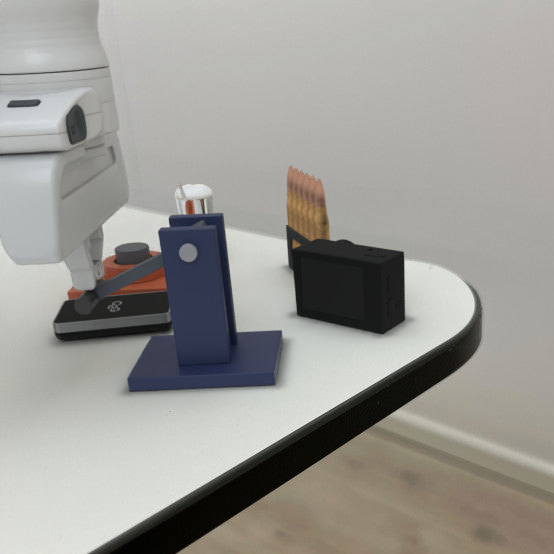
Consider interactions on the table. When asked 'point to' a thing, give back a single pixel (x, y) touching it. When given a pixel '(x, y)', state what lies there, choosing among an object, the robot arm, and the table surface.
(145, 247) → the button
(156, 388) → the switch bracket
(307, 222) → the ammunition clip
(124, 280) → the switch lever
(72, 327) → the external hard drive
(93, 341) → the table surface
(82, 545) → the table surface
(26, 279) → the table surface
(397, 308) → the digital camera
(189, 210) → the milkshake
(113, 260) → the button block
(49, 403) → the table surface
